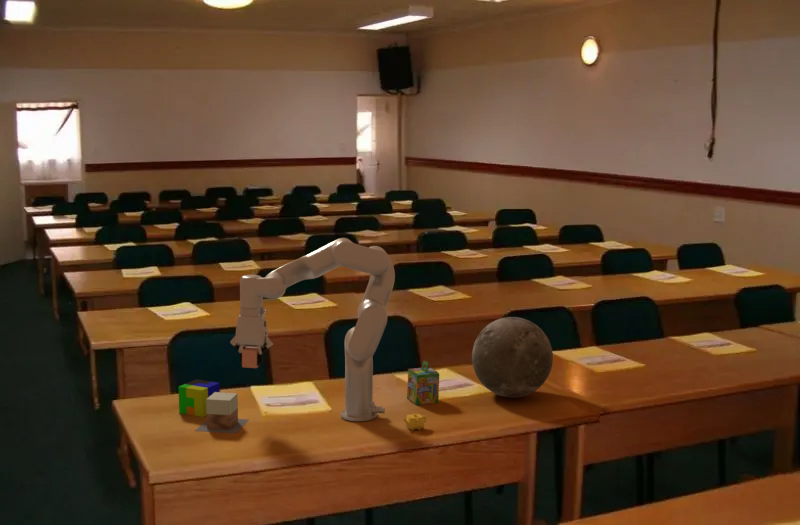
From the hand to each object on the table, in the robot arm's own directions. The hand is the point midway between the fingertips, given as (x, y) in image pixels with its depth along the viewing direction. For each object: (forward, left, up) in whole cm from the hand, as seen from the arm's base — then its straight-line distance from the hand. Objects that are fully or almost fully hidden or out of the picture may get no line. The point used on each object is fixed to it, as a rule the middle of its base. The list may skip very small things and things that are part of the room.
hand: (251, 363), depth 299 cm
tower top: (+8, +7, -15) cm, 18 cm away
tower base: (+8, +7, -20) cm, 22 cm away
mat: (+8, +7, -20) cm, 23 cm away
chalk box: (-55, -32, -20) cm, 67 cm away
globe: (-87, -44, -20) cm, 99 cm away
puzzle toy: (+21, -6, -20) cm, 30 cm away
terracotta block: (0, 0, -1) cm, 1 cm away
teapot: (-56, -1, -20) cm, 60 cm away
